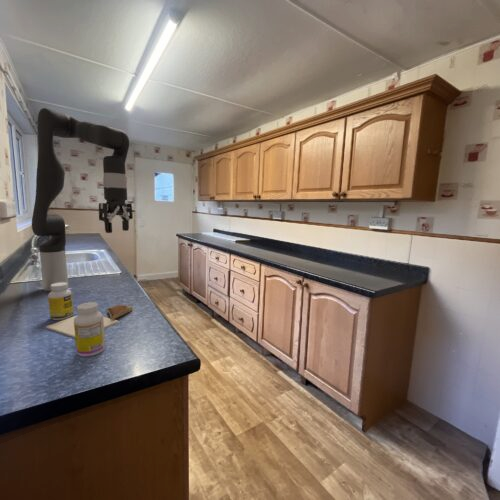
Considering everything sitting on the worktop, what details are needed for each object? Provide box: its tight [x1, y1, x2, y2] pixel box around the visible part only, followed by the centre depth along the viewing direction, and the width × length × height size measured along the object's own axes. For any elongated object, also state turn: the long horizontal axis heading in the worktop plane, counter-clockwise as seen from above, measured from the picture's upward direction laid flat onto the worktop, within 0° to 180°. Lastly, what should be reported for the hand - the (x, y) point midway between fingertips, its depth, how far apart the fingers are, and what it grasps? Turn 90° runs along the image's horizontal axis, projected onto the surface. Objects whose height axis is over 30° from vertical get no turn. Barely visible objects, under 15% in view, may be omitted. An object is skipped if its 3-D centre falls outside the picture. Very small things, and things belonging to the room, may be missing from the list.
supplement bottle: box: [74, 301, 106, 357], centre depth 71 cm, size 7×7×13 cm
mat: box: [45, 314, 119, 339], centre depth 87 cm, size 16×13×1 cm
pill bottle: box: [47, 282, 74, 321], centre depth 92 cm, size 6×6×12 cm
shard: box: [106, 304, 134, 320], centre depth 95 cm, size 11×8×2 cm
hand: (117, 231), depth 100 cm, fingers open, 8 cm apart
